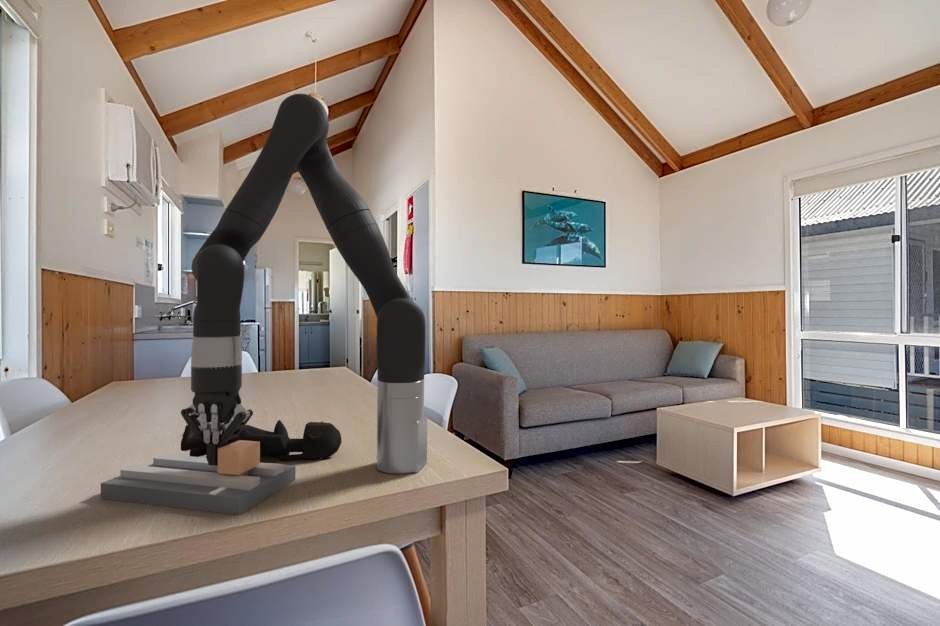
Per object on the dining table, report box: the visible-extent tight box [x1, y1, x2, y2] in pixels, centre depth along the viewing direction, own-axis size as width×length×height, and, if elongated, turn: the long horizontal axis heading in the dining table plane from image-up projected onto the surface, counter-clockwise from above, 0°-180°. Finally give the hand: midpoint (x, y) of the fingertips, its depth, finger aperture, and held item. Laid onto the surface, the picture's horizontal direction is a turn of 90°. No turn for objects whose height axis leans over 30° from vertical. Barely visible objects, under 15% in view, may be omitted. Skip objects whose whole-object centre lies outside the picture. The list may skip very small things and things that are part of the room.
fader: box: [218, 440, 261, 476], centre depth 73 cm, size 4×5×5 cm
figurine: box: [180, 419, 343, 461], centre depth 90 cm, size 8×30×8 cm, turn 95°
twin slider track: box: [100, 453, 296, 516], centre depth 74 cm, size 26×14×4 cm, turn 78°
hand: (216, 463), depth 74 cm, fingers closed
